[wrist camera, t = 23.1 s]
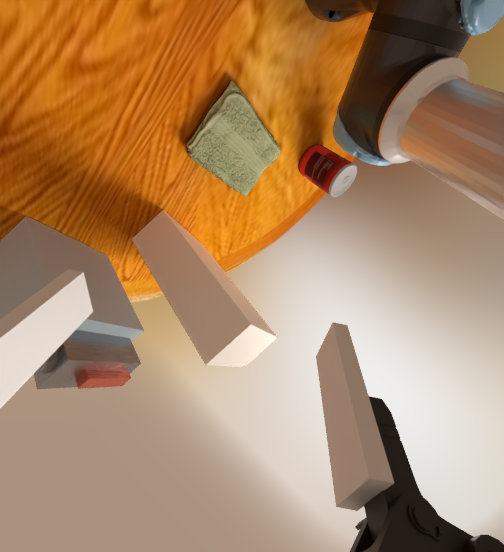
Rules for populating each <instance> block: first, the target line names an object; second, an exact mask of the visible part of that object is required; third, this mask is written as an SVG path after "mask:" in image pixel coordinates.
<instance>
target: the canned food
mask: <svg viewBox="0 0 504 552" xmlns="http://www.w3.org/2000/svg"><path fill="white" fill-rule="evenodd" d="M299 171H300V173H301V174H302V175H303V176H304V177H305V178H307V179H308V180H310V181H311V182H312V183H314V184H315V185H317V186H318V187H319V188H321V189H322V190H324V191H325V192H327V193H328V194H330V195H331V196H333V197H337V196H340V195H341V194H343V193H344V192H345V191H346V190H347V189H348V188H349V187H350V185H351V184H352V183H353V181H354V179H355V177H356V174H357V167H356V165H354V164H353V163H351V162H350V161H348V160H346V159H345V158H343V157H341V156H339V155H338V154H336V153H334V152H332V151H331V150H329V149H327V148H325V147H324V146H322V145H313V146H311V147H310V148H309V149H307V150H306V152H305V153H304V154H303V156H302V158H301V160H300V163H299Z"/></svg>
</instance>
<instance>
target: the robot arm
mask: <svg viewBox="0 0 504 552" xmlns="http://www.w3.org/2000/svg"><path fill="white" fill-rule="evenodd" d="M305 1H306V3H307V5H308V8H309V9H310V11H311V12H312V13H313V15H314V16H316V17H317V18H319V19H321V20H325V21H329V22H341V21H344V20H347V19H350V18H353V17H356V16H359V15H362V14H365V13H368V12H371V13H374V15H373V17H372V20H371V23H370V26H369V28H368V31H367V34H366V36H365V39H364V41H363V44H362V47H361V49H360V52H359V54H358V57H357V60H356V62H355V65H354V68H353V70H352V73H351V75H350V78H349V81H348V83H347V86H346V88H345V91H344V94H343V96H342V99H341V101H340V103H339V105H338V109H337V115H336V119H335V122H334V125H333V135H334V138H335V140H336V142H337V143H338V144H339V146H340V147H341V148H342V149H343V150H345V151H346V152H347V153H349V154H350V155H352V156H357V157H358V158H359V159H360V160H362V161H364V162H366V163H369V164H373V165H379V166H386V165H390V164H392V163H403V162H407V161H410V160H412V161H414V162H415V163H417V164H418V165H420V166H421V167H423V168H424V169H426V170H427V171H429V172H431V173H432V174H434V175H435V176H437V177H438V178H440V179H441V180H443V181H444V182H446V183H448V184H449V185H451V186H452V187H454V188H455V189H457V190H458V191H460V192H462V193H463V194H465V195H466V196H468V197H469V198H471V199H472V200H474V201H476V202H477V203H478V204H480V205H482V206H483V207H485V208H486V209H488V210H489V211H491V212H492V213H494V214H495V215H497V216H499V217H500V218H502V219H503V220H504V93H503V92H499V91H496V90H493V89H490V88H486V87H483V86H480V85H477V84H473V83H470V73H469V69H468V66H467V65H466V64H465V63H464V62H463V61H462V60H460V59H458V56H459V54H460V52H461V51H462V49H463V47H464V45H465V44H466V42H467V40H468V39H469V37H470V35H478V34H480V33H484V32H486V31H488V30H490V29H491V28H492V27H494V26H495V25H496V24H497V23H498V22H499V21H500V19H501V18H502V16H503V14H504V0H305ZM92 312H93V309H92V305H91V300H90V296H89V292H88V288H87V284H86V280H85V276H84V272H81V271H76V270H71V269H68V270H67V271H66V272H64V273H63V274H61V275H60V276H59V277H57V278H56V279H55V280H53V281H52V282H50V283H49V284H48V285H46V286H45V287H44V288H42V289H41V290H39V291H38V292H37V293H35V294H34V295H33V296H31V297H30V298H28V299H27V300H26V301H24V302H23V303H22V304H20V305H19V306H17V307H16V308H15V309H13V310H12V311H11V312H9V313H8V314H6V315H5V316H4V317H2V318H1V319H0V408H1V407H2V406H3V405H4V404H5V403H6V402H7V401H8V400H9V399H10V398H11V397H12V396H13V395H14V394H15V393H16V392H17V390H18V389H19V388H20V387H21V386H22V385H23V384H24V383H25V382H26V381H27V380H28V379H29V378H30V377H31V376H32V375H33V374H34V373H35V372H36V371H37V370H38V369H39V368H40V367H41V365H42V364H43V363H44V362H45V361H46V360H47V359H48V358H49V357H50V356H51V355H52V354H53V353H54V352H55V351H56V350H57V349H58V348H59V347H60V346H61V345H62V344H63V343H64V342H65V340H66V339H67V338H68V337H69V336H70V335H71V334H72V333H73V332H74V331H75V330H76V329H77V328H78V327H79V326H80V325H81V324H82V323H83V322H84V321H85V320H86V319H87V318H88V316H89V315H90V314H91V313H92ZM316 358H317V366H318V373H319V381H320V388H321V396H322V403H323V411H324V417H325V425H326V433H327V440H328V447H329V455H330V463H331V470H332V477H333V485H334V492H335V499H336V506H337V507H341V508H346V509H352V510H356V511H358V510H359V509H360V508H362V507H363V506H364V507H365V511H366V516H367V518H365V519H364V520H362V521H361V522H359V523H358V525H357V526H356V528H357V529H358V530H359V529H360V531H359V533H358V535H357V537H356V540H355V542H354V544H353V546H352V548H351V550H350V552H504V544H502V543H501V542H500V541H499V540H497V539H495V538H493V537H491V536H489V535H479V536H476V537H473V536H471V535H469V534H467V533H466V532H464V531H463V530H461V529H459V528H457V527H456V526H454V525H452V524H451V523H449V522H447V521H446V520H444V519H443V518H441V517H440V516H438V514H437V512H436V511H435V509H434V508H433V507H432V506H431V505H430V504H429V502H428V501H427V500H426V499H424V498H423V496H422V495H421V493H420V491H419V489H418V486H417V484H416V481H415V478H414V476H413V473H412V470H411V467H410V464H409V462H408V459H407V456H406V453H405V450H404V448H403V445H402V442H401V441H400V437H399V434H398V431H397V429H396V425H395V422H394V420H393V417H392V414H391V412H390V410H389V409H388V407H387V406H386V405H385V403H384V402H383V400H382V399H378V398H374V397H369V396H368V393H367V390H366V387H365V383H364V380H363V376H362V373H361V370H360V366H359V363H358V360H357V356H356V353H355V350H354V346H353V343H352V340H351V336H350V333H349V330H348V326H347V325H343V324H338V323H332V325H331V327H330V329H329V331H328V333H327V336H326V337H325V339H324V341H323V344H322V346H321V348H320V350H319V352H318V354H317V356H316Z"/></svg>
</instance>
